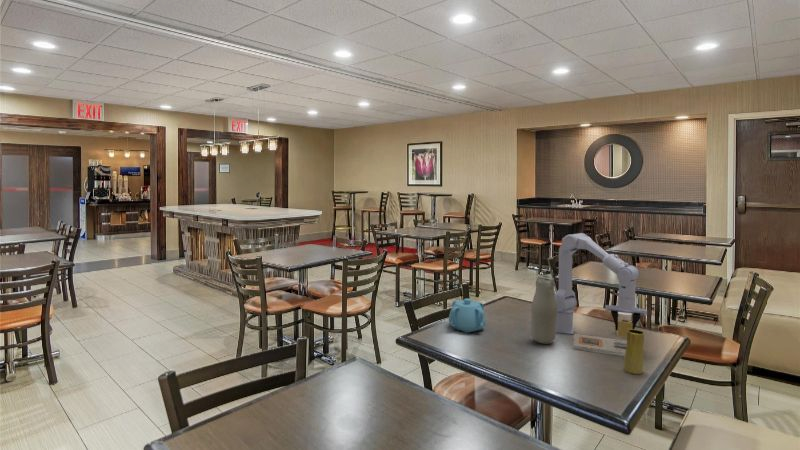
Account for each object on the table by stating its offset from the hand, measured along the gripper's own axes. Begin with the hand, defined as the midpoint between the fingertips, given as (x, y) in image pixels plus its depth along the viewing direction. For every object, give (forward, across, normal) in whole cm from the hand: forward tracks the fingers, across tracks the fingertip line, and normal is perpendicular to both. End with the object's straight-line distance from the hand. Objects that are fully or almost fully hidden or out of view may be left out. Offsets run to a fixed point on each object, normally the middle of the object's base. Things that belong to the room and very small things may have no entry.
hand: (624, 330), depth 177 cm
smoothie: (+8, +1, +20) cm, 22 cm away
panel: (+8, -6, 0) cm, 10 cm away
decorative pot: (+8, -63, -1) cm, 64 cm away
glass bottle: (+8, -30, -5) cm, 31 cm away
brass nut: (+2, 0, 0) cm, 2 cm away
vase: (+8, +2, -20) cm, 22 cm away
